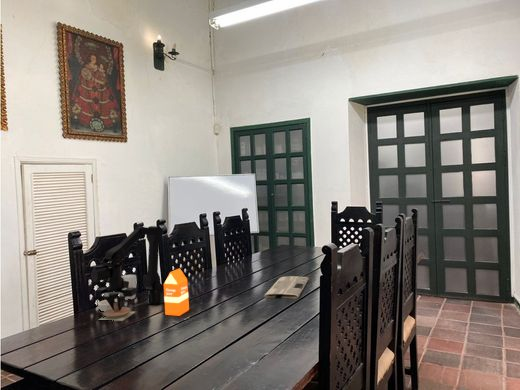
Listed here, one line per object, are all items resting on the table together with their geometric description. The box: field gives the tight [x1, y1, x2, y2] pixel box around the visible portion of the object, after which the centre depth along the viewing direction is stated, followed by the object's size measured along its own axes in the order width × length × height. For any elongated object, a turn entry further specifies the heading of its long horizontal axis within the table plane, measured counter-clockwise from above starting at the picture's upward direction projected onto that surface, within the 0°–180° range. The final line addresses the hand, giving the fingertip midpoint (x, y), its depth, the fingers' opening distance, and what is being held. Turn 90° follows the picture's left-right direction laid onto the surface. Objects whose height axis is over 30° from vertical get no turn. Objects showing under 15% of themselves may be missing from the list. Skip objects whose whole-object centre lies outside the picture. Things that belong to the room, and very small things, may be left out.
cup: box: [122, 274, 137, 301], centre depth 212 cm, size 9×9×12 cm
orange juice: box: [163, 268, 190, 317], centre depth 184 cm, size 8×9×20 cm
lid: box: [103, 301, 131, 317], centre depth 183 cm, size 12×12×5 cm
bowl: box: [97, 298, 117, 311], centre depth 195 cm, size 10×10×4 cm
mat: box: [98, 310, 136, 322], centre depth 183 cm, size 12×12×1 cm
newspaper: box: [263, 275, 310, 300], centre depth 217 cm, size 37×19×3 cm, turn 165°
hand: (117, 310), depth 183 cm, fingers closed on lid, 3 cm apart
